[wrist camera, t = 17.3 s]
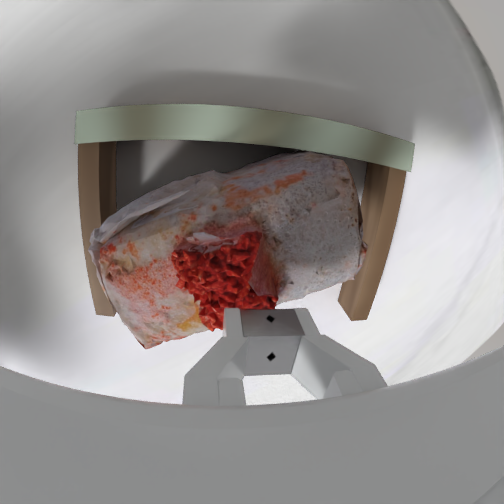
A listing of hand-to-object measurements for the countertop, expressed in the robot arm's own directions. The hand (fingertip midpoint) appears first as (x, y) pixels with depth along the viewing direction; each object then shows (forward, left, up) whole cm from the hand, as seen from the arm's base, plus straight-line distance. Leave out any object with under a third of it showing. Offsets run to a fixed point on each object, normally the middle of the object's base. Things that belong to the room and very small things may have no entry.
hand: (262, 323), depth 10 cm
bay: (0, +1, -11) cm, 11 cm away
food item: (-1, +1, -11) cm, 11 cm away
